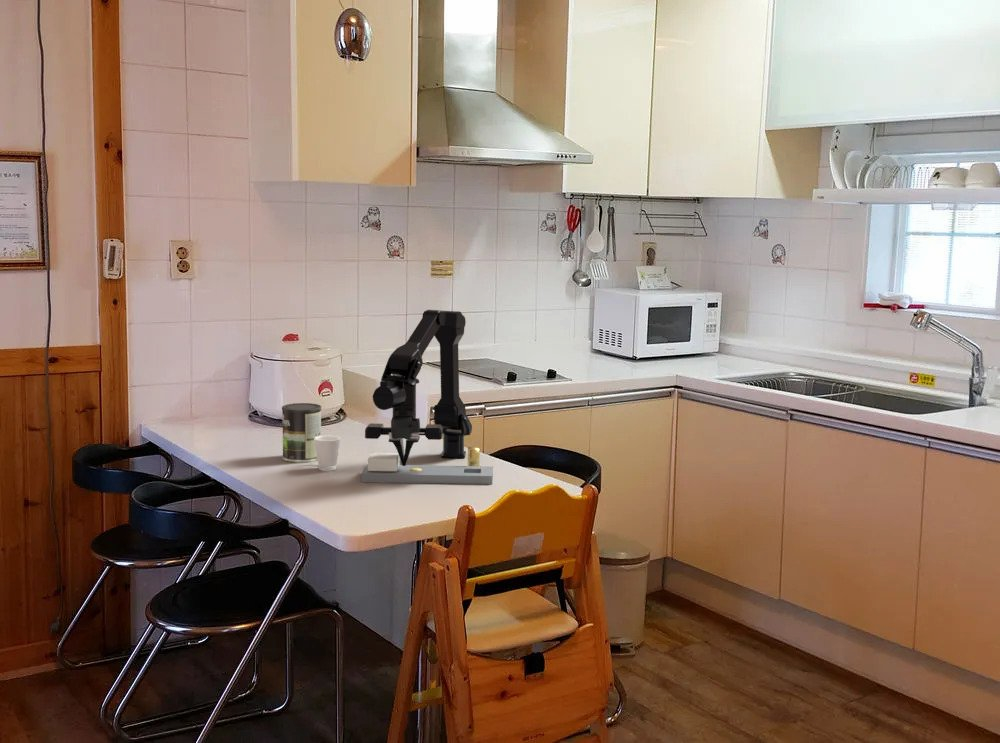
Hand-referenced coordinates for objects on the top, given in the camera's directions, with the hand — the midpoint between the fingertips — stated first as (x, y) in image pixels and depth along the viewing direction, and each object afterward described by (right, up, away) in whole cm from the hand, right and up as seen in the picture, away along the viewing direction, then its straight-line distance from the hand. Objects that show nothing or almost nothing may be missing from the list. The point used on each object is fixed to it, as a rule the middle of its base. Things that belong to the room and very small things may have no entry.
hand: (404, 465), depth 255 cm
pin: (+17, -2, +8) cm, 19 cm away
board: (+6, -3, 0) cm, 7 cm away
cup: (-21, -2, +10) cm, 23 cm away
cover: (-5, -1, 0) cm, 5 cm away
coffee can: (-29, 0, +19) cm, 35 cm away
